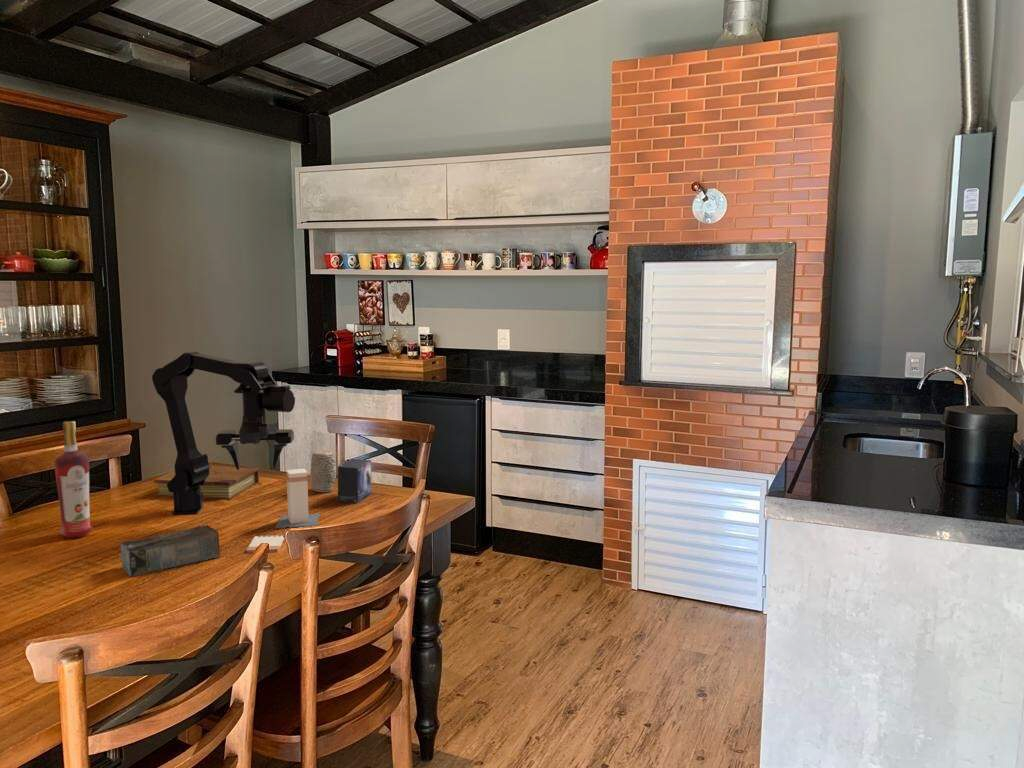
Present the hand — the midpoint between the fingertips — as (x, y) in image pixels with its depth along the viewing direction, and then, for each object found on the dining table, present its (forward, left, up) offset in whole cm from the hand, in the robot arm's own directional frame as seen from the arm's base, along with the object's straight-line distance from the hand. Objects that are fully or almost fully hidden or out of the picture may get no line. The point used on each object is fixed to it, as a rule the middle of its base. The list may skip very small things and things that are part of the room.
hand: (256, 469), depth 200 cm
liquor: (-41, -10, -13) cm, 44 cm away
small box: (+24, +16, -13) cm, 32 cm away
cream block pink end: (+6, -22, -13) cm, 27 cm away
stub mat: (+11, -5, -13) cm, 18 cm away
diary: (-20, +30, -14) cm, 39 cm away
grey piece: (-13, -32, -14) cm, 37 cm away
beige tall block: (+11, -5, -13) cm, 17 cm away
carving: (+14, +25, -13) cm, 32 cm away
